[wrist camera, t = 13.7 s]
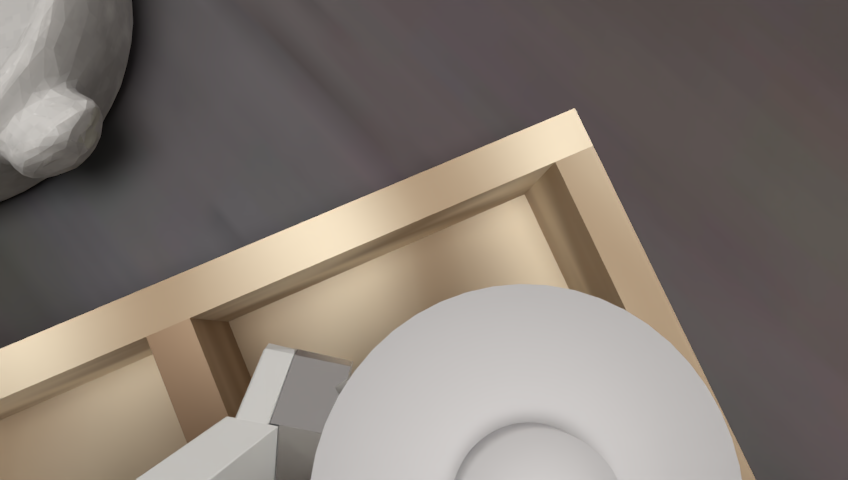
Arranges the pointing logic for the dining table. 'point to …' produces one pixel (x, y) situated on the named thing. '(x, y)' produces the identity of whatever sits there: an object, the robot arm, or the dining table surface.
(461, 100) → the dining table surface
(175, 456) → the robot arm
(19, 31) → the dish
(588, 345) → the lidded jar
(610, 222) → the trough rack
